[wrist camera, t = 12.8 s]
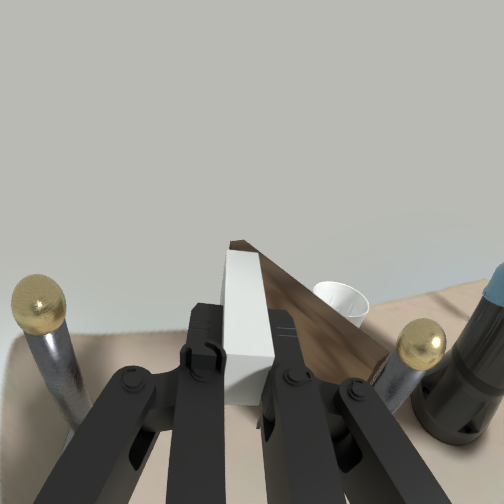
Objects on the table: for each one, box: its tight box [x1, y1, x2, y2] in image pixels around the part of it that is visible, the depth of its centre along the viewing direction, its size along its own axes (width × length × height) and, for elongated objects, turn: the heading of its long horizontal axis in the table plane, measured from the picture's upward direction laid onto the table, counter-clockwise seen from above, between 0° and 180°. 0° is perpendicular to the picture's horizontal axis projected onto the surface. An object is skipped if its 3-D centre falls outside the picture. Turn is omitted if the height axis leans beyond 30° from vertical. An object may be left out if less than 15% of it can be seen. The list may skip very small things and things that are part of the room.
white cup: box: [312, 281, 369, 328], centre depth 38 cm, size 8×8×10 cm
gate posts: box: [11, 274, 446, 454], centre depth 18 cm, size 30×6×20 cm, turn 93°
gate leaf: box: [229, 240, 390, 385], centre depth 29 cm, size 20×2×14 cm, turn 35°
